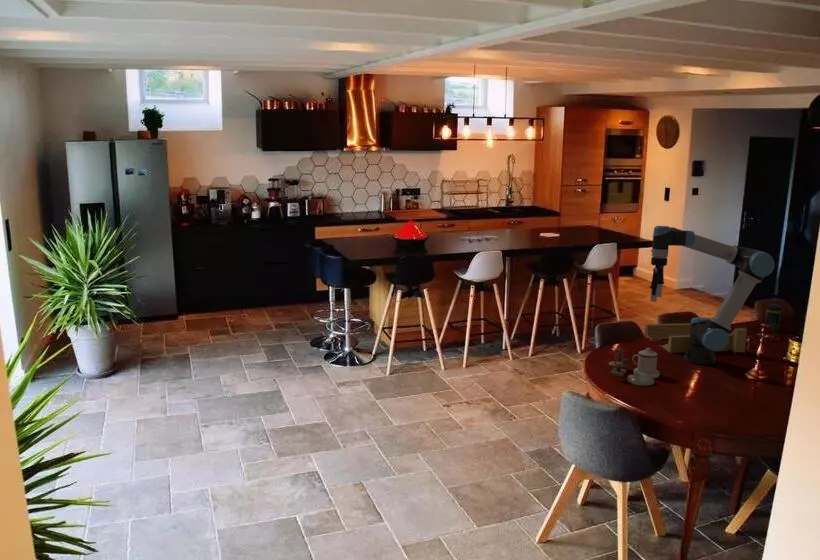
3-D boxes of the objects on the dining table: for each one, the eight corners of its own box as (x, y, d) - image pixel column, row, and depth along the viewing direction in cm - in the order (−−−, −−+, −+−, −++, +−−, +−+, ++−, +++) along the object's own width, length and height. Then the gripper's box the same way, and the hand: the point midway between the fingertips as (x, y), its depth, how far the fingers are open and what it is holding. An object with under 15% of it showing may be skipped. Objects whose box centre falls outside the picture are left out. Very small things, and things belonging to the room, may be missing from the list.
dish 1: (661, 373, 338) (661, 370, 338) (656, 379, 328) (657, 376, 327) (636, 369, 344) (636, 366, 344) (631, 375, 334) (631, 372, 333)
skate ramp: (707, 338, 407) (709, 312, 405) (744, 355, 373) (747, 326, 370) (644, 340, 401) (646, 313, 399) (676, 357, 367) (678, 328, 364)
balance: (617, 367, 347) (619, 340, 344) (629, 369, 344) (631, 342, 341) (606, 378, 328) (608, 350, 326) (619, 380, 325) (621, 352, 323)
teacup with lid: (659, 370, 336) (660, 347, 334) (652, 375, 329) (654, 351, 327) (634, 366, 344) (636, 343, 342) (628, 370, 337) (630, 347, 334)
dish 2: (656, 380, 327) (656, 377, 327) (651, 387, 317) (651, 384, 316) (630, 376, 333) (630, 373, 332) (624, 382, 322) (625, 379, 322)
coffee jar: (777, 336, 413) (781, 306, 410) (763, 334, 418) (766, 304, 414) (779, 333, 421) (783, 303, 418) (765, 331, 426) (768, 301, 422)
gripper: (656, 253, 352) (653, 294, 356) (646, 259, 331) (643, 302, 335) (671, 254, 349) (668, 295, 353) (662, 260, 327) (659, 304, 331)
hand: (656, 299), depth 344 cm, fingers open, 13 cm apart
